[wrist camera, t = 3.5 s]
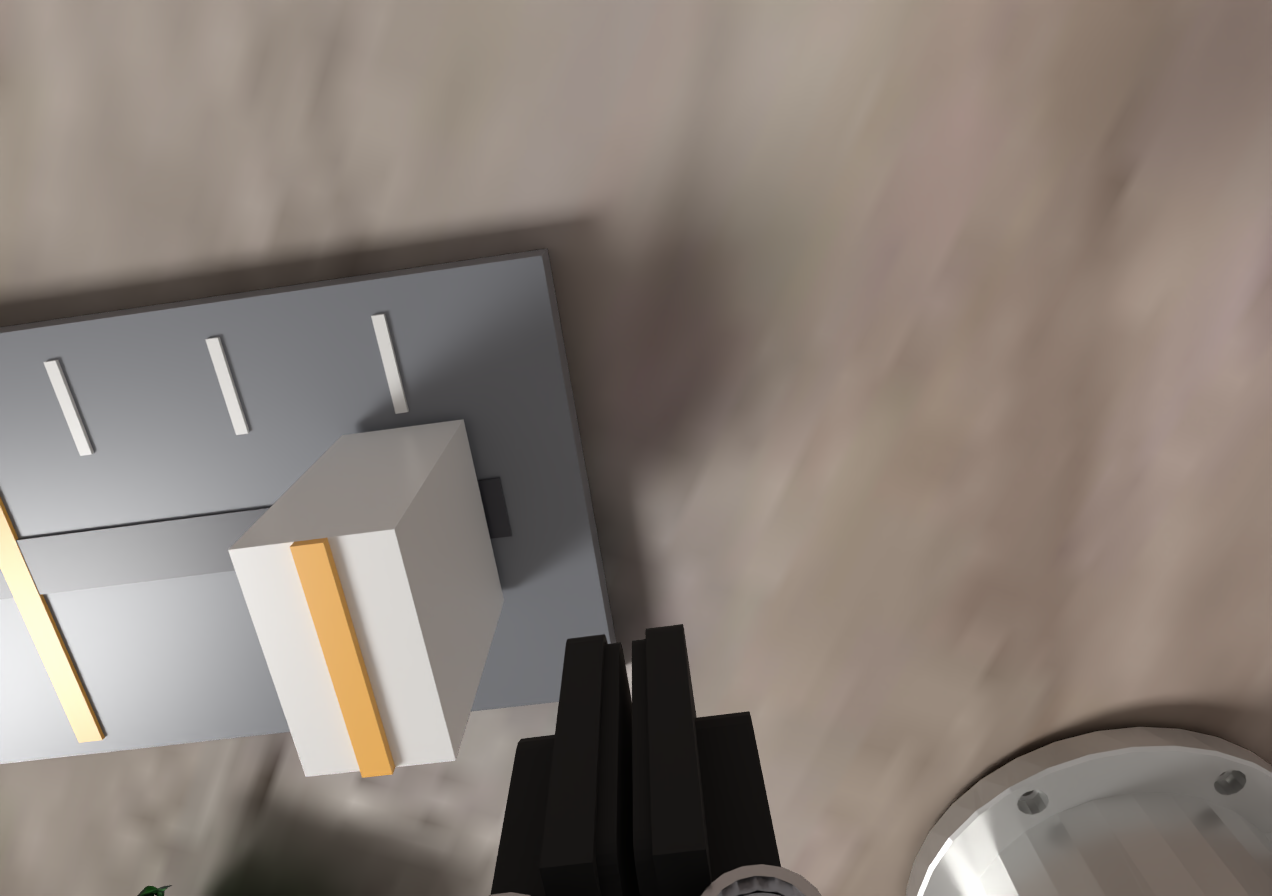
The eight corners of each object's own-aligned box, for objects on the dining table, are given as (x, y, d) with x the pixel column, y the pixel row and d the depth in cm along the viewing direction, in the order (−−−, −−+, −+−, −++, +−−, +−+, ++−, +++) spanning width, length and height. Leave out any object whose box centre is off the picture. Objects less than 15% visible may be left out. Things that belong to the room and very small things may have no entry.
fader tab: (463, 419, 21) (391, 534, 15) (503, 600, 22) (453, 767, 16) (342, 435, 21) (223, 555, 15) (391, 613, 22) (302, 783, 17)
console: (547, 248, 21) (528, 272, 17) (621, 668, 25) (616, 754, 21) (-302, 370, 22) (-474, 415, 19) (-97, 750, 26) (-208, 843, 23)
